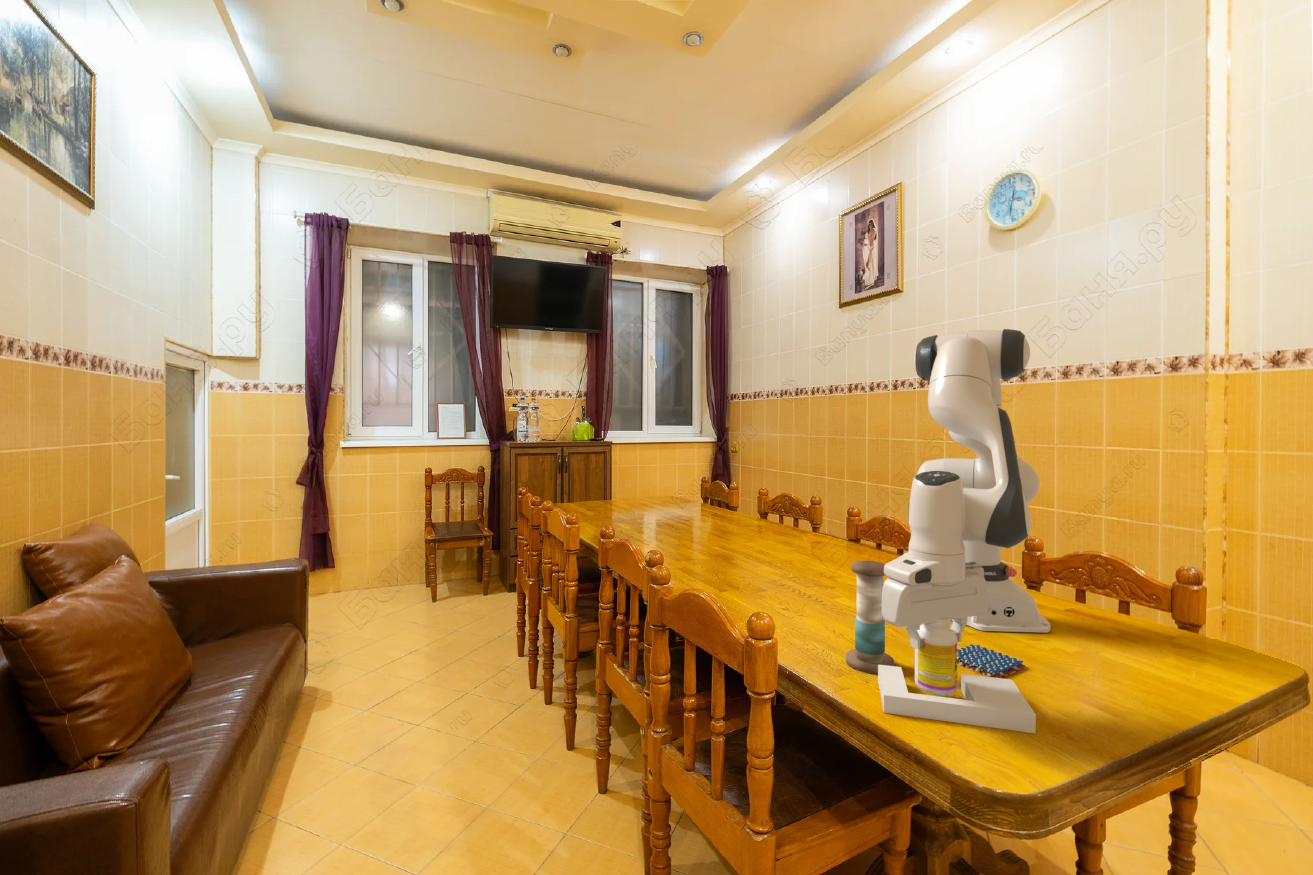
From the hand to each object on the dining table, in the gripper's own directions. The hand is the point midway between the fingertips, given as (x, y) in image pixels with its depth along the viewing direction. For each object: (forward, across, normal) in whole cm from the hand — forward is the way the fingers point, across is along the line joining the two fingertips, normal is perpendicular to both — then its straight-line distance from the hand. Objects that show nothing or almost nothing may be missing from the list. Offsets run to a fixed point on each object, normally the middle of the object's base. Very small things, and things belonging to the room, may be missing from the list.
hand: (935, 644), depth 97 cm
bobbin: (+10, +1, -16) cm, 19 cm away
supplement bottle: (+8, 0, 0) cm, 8 cm away
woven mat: (+11, -20, -8) cm, 24 cm away
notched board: (+10, -1, +2) cm, 10 cm away
